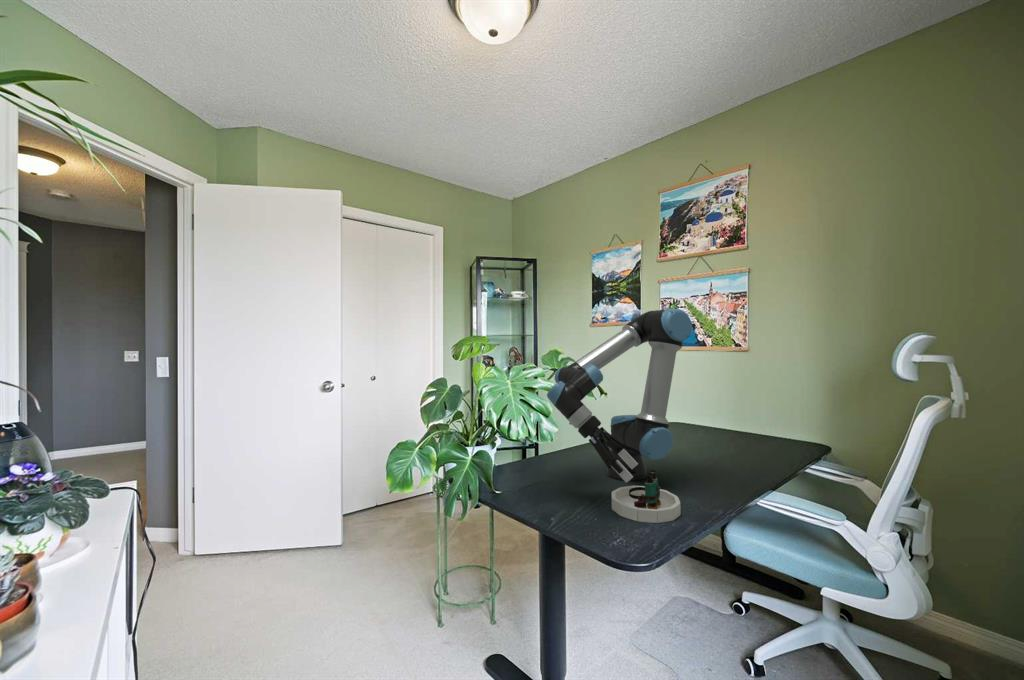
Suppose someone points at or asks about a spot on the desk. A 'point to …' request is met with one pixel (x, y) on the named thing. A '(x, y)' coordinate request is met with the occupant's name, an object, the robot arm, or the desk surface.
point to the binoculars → (648, 492)
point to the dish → (643, 514)
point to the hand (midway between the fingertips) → (632, 473)
